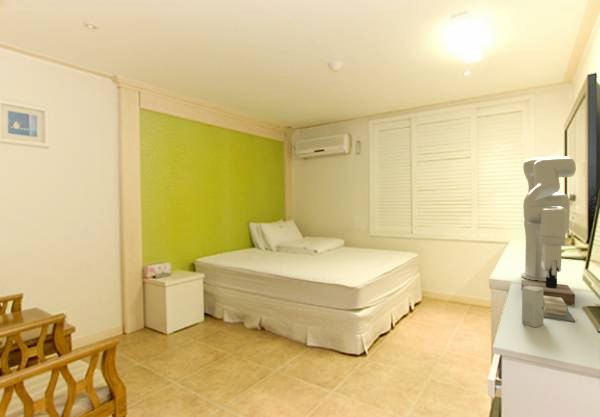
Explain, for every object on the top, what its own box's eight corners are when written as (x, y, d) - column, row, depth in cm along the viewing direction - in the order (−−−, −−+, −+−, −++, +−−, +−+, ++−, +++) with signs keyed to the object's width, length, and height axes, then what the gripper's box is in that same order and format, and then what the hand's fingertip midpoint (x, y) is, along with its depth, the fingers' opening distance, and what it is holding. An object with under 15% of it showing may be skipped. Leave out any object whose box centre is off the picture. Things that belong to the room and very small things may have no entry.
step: (521, 289, 145) (521, 280, 145) (567, 294, 137) (567, 285, 137) (524, 298, 133) (524, 288, 133) (574, 304, 125) (575, 294, 125)
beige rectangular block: (545, 302, 116) (545, 312, 116) (566, 305, 113) (566, 315, 113) (541, 295, 124) (541, 304, 124) (561, 297, 121) (561, 307, 121)
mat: (525, 298, 132) (526, 297, 132) (563, 303, 126) (563, 302, 126) (531, 315, 115) (531, 314, 115) (575, 322, 109) (575, 320, 109)
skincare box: (536, 328, 105) (537, 291, 104) (520, 323, 109) (521, 287, 108) (544, 323, 108) (545, 287, 108) (528, 319, 112) (529, 284, 111)
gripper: (537, 236, 131) (536, 281, 133) (543, 243, 119) (541, 292, 120) (561, 238, 128) (559, 283, 129) (569, 244, 115) (567, 295, 116)
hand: (551, 287), depth 125 cm, fingers closed
